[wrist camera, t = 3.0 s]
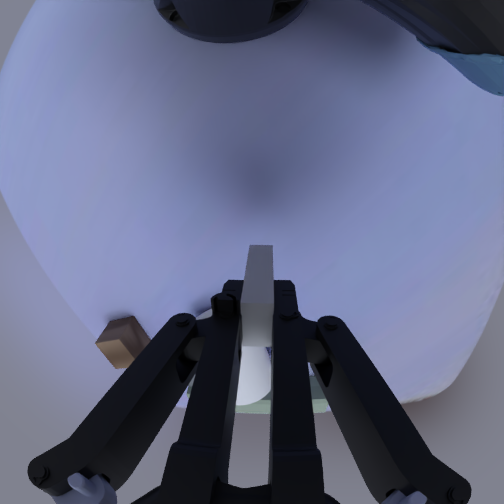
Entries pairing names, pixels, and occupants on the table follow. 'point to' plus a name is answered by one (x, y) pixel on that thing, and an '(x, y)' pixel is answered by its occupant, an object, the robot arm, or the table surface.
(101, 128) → the table surface
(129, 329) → the walnut block
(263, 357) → the mug
